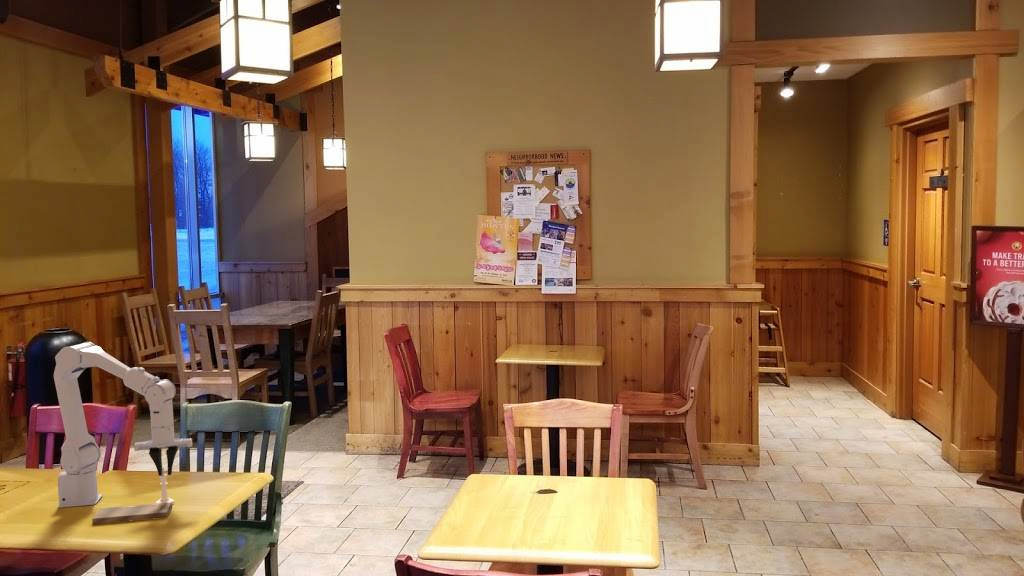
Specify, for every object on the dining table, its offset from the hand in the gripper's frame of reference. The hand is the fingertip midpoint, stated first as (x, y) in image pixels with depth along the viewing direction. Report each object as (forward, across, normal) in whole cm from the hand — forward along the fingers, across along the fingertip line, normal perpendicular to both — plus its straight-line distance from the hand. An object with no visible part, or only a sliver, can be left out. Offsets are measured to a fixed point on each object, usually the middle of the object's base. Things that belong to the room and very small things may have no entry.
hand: (165, 474), depth 236 cm
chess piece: (+8, 0, 0) cm, 8 cm away
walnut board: (+8, -7, -8) cm, 13 cm away
